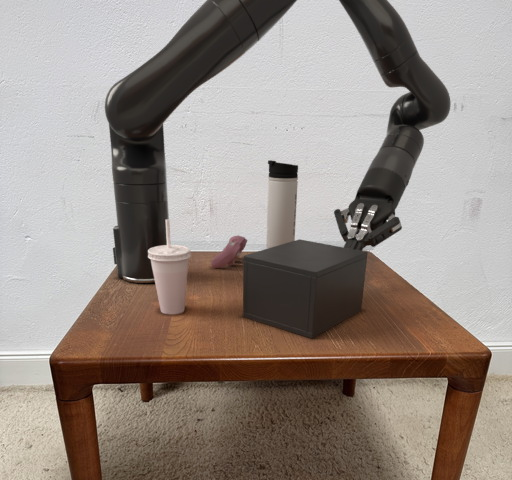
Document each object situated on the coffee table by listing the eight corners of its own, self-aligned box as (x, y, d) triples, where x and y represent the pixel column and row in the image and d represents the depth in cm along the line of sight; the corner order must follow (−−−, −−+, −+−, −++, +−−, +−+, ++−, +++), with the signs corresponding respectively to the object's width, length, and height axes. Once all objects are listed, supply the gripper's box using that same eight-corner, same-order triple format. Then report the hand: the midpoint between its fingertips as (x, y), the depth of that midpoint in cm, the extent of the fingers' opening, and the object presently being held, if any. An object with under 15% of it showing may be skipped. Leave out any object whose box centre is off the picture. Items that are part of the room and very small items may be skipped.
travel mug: (259, 252, 111) (261, 159, 103) (284, 249, 114) (288, 158, 106) (274, 259, 106) (277, 161, 98) (299, 256, 109) (304, 161, 101)
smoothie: (191, 302, 80) (187, 216, 75) (195, 316, 75) (191, 224, 69) (151, 304, 79) (144, 216, 73) (152, 318, 73) (145, 225, 68)
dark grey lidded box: (296, 293, 85) (299, 239, 81) (361, 310, 78) (367, 251, 74) (242, 316, 75) (243, 255, 71) (312, 338, 68) (316, 272, 64)
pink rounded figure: (228, 277, 99) (243, 247, 95) (208, 266, 98) (223, 236, 95) (239, 264, 107) (253, 237, 104) (221, 254, 107) (235, 226, 104)
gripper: (347, 163, 88) (306, 243, 84) (418, 168, 80) (377, 256, 77) (358, 190, 94) (320, 266, 90) (425, 197, 87) (387, 280, 83)
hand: (346, 261), depth 84 cm, fingers closed
